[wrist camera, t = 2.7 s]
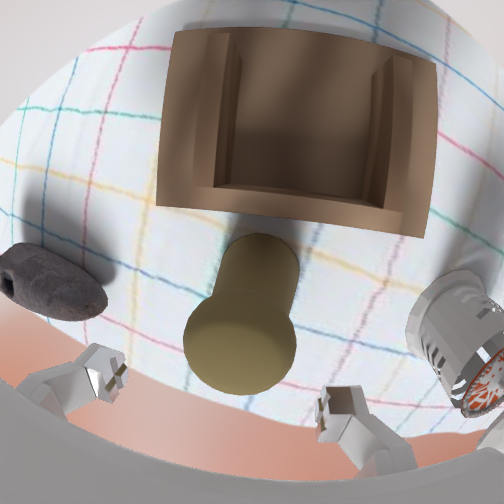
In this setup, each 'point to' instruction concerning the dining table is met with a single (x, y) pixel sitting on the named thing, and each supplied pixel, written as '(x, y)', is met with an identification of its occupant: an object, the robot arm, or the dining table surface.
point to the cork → (246, 319)
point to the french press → (463, 345)
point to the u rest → (299, 128)
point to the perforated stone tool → (49, 284)
